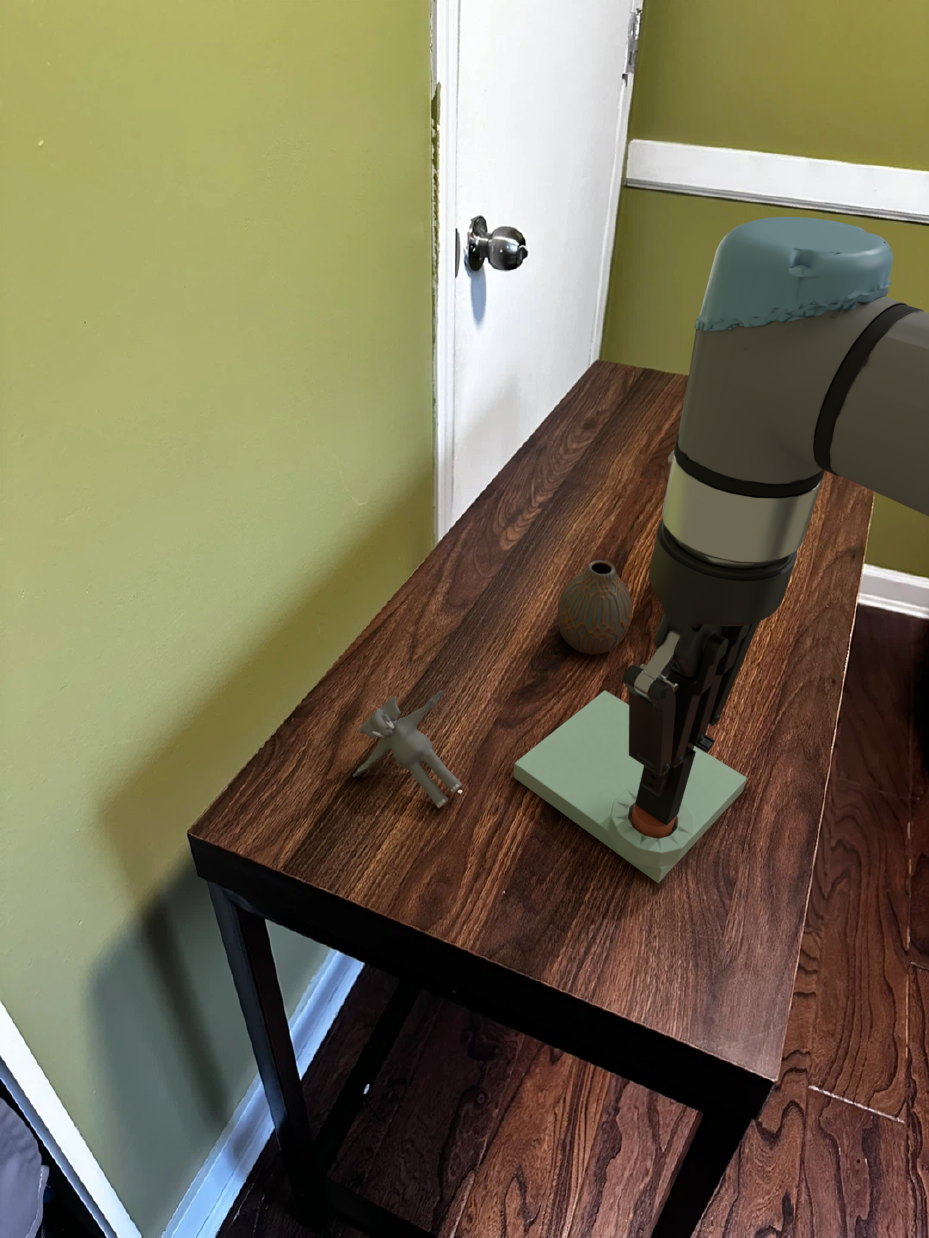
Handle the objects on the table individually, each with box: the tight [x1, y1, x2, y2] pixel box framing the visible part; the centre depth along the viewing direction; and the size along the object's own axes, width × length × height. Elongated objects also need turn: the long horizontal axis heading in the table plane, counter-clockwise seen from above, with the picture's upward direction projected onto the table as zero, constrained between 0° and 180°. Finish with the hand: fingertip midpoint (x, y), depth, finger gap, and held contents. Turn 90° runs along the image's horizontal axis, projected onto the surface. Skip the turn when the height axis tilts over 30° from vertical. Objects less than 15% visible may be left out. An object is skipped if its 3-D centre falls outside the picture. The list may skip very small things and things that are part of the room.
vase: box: [556, 559, 633, 656], centre depth 80 cm, size 7×7×9 cm
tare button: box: [631, 804, 676, 839], centre depth 62 cm, size 3×3×2 cm
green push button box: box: [512, 690, 748, 884], centre depth 67 cm, size 14×13×4 cm
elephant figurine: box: [352, 689, 463, 809], centre depth 67 cm, size 10×6×9 cm
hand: (656, 808), depth 61 cm, fingers closed
